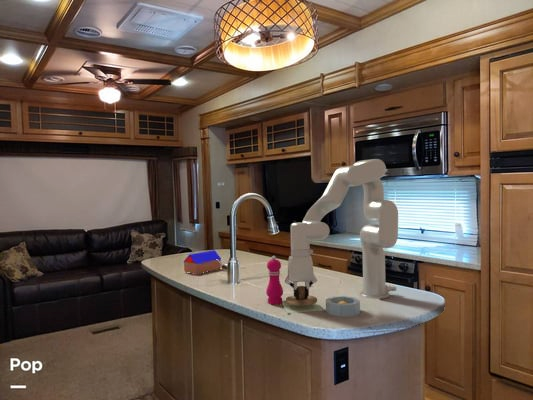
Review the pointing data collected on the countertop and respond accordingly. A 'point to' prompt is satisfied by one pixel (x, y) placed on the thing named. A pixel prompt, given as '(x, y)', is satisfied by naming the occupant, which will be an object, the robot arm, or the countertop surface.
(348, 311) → the bowl
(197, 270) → the house
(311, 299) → the lid
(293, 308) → the mat
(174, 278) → the countertop surface
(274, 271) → the pepper mill
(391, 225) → the robot arm
